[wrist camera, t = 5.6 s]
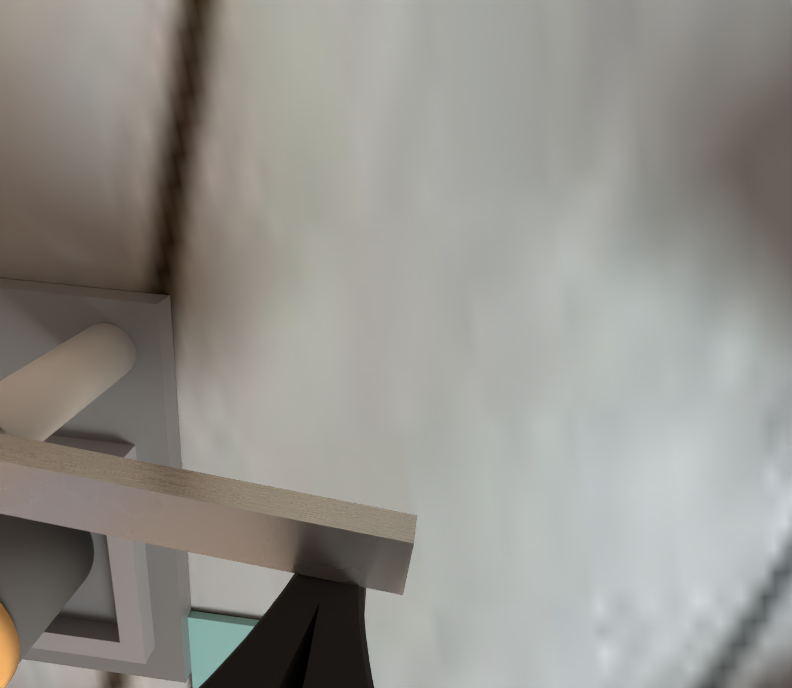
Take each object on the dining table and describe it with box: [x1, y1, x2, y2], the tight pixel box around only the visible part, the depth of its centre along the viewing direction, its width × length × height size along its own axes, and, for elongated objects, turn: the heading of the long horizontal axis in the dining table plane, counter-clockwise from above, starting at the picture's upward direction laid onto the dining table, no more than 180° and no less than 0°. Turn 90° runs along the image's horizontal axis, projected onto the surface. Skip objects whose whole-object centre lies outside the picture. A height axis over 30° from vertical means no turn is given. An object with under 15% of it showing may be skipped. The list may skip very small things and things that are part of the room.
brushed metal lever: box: [0, 426, 417, 595], centre depth 12 cm, size 10×2×1 cm, turn 81°
